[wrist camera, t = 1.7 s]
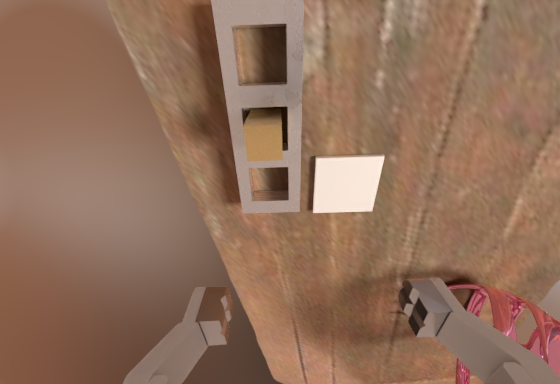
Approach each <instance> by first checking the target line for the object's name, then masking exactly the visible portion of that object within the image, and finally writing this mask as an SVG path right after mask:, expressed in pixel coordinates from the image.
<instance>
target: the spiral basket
mask: <svg viewBox="0 0 560 384" xmlns="http://www.w3.org/2000/svg"><path fill="white" fill-rule="evenodd" d="M447 287H448V288H449V290H451V289H459V288H471V289H476V290H475V291H474V292H473V294H472V296H471V298H470V300H469V303H468V305H467V309H466V312H471V313H473V314H474V315H476V316H477V317H479V315H480V312H481V309H482V307H483V305H484V303H485V301H486V299H487V298H488V296H489V299H490V302H491V307H492V314H493V324H494V326H493V327H494V328H496V329H497V330H499V331H500V332H502V333H503V334H505V335H506V336H508V337H509V338H511V339H513V340H514V341H516V342H517V334H516V327H515V320H516V319H517V317H518V316H519V314H520V313H521V312H522V311H524V310H525V309H529V310H531V312H532V314H533V316H534V318H535V320H536V323H537V326H538V327H537V328H536V329H535V330H534V332H533V333H532V335H531V337H530V339H529V342H528V343H527V344H526V345H522V344H520V343H519V344H520V345H522V346H523V347H525V348H526V349H528V350H529V351H531V352H532V353H534V354H535V355H537V356H538V357H540V358H542V359H543V360H544V361H545V362H546V363H547V364H548V365H549V366H550V367H551V368H552V370H553V371H554V372H555V373H556V374H557V375H558V376H559V377H560V322H559V321H557V320H555V319H554V318H553V317H551V316H550V315H549V314H547V313H546V312H545V311H544V310H543V309H542V308H541V307H539V306H538V305H536V304H535V303H533V302H531V301H529V300H527V299H524V298H522V297H519V296H517V295H514V294H511V293H509V292H506V291H503V290H501V289H498V288H495V287H491V286H486V285H478V284H453V285H447ZM507 298H509V299H510V300H508V299H507ZM517 343H518V342H517ZM456 384H470V369H468V368H467V367H466V366H465V365H464V364H463V363H462V362H461V361H460V360H459V359H458V358H457V365H456Z"/></svg>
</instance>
